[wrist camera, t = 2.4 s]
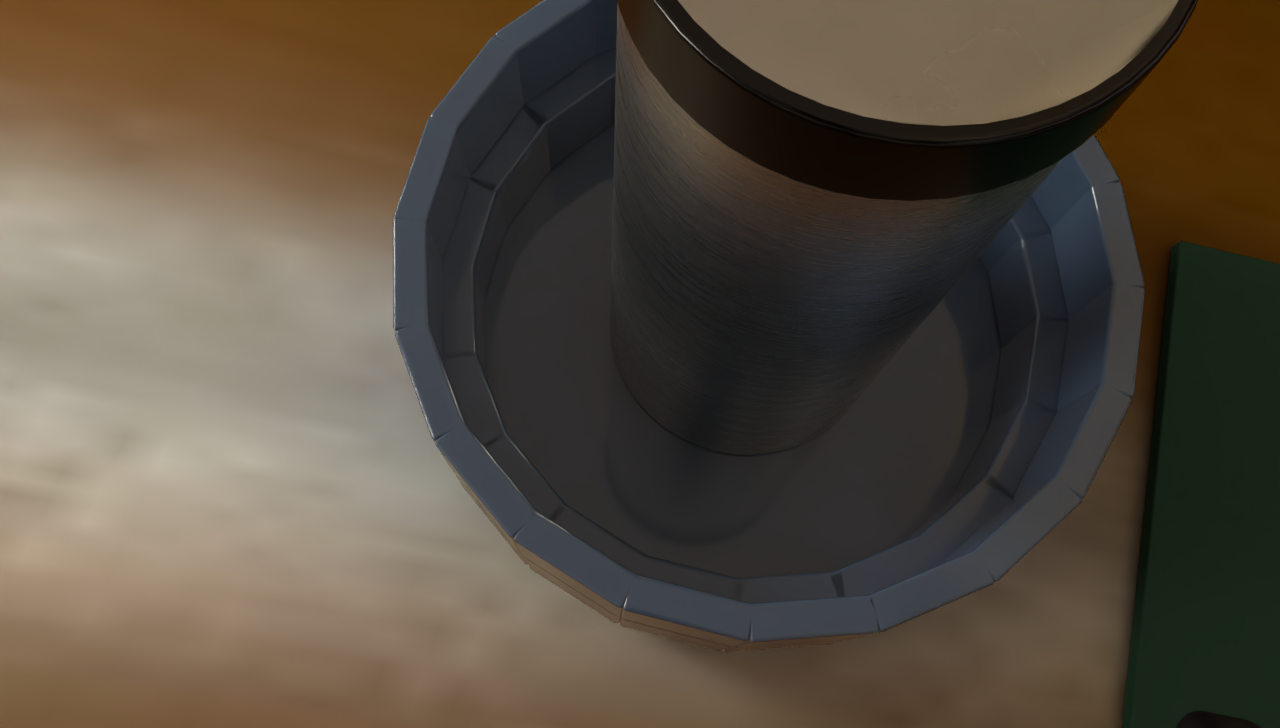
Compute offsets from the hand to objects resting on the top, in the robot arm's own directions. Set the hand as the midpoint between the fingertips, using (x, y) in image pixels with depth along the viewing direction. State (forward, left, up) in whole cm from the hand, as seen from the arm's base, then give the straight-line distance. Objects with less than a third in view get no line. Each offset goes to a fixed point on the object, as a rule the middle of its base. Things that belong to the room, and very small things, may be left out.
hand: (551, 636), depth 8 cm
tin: (+8, -1, -13) cm, 15 cm away
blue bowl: (+8, -1, -14) cm, 16 cm away
